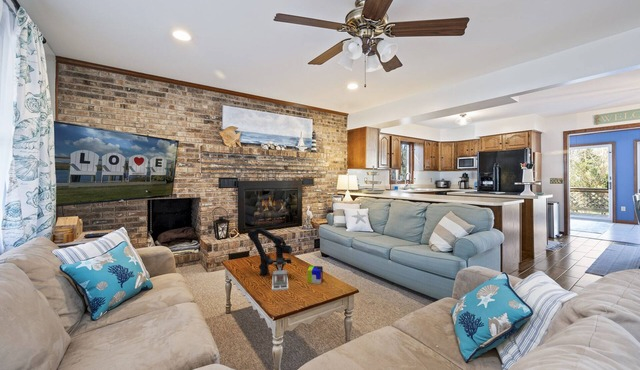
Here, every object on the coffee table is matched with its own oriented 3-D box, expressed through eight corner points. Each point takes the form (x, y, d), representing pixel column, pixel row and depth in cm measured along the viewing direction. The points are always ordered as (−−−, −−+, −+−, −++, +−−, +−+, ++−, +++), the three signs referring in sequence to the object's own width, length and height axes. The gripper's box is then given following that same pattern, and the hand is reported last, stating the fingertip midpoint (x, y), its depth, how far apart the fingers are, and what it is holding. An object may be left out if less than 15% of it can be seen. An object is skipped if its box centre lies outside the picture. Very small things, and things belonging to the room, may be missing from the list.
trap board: (288, 289, 195) (288, 287, 195) (271, 290, 193) (271, 288, 193) (287, 276, 218) (287, 275, 218) (272, 278, 217) (272, 276, 216)
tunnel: (286, 284, 200) (286, 273, 200) (273, 285, 198) (273, 274, 198) (286, 280, 207) (286, 270, 206) (273, 281, 205) (273, 270, 205)
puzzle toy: (320, 283, 205) (320, 271, 204) (307, 282, 207) (307, 270, 206) (322, 278, 214) (322, 266, 214) (310, 277, 216) (310, 265, 216)
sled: (284, 280, 206) (283, 270, 206) (276, 281, 205) (275, 271, 205) (283, 273, 222) (283, 264, 221) (276, 273, 221) (276, 264, 220)
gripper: (267, 256, 210) (267, 276, 210) (291, 255, 212) (291, 274, 213) (268, 252, 221) (268, 270, 221) (290, 251, 223) (291, 269, 224)
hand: (279, 271), depth 220 cm, fingers closed on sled, 2 cm apart
